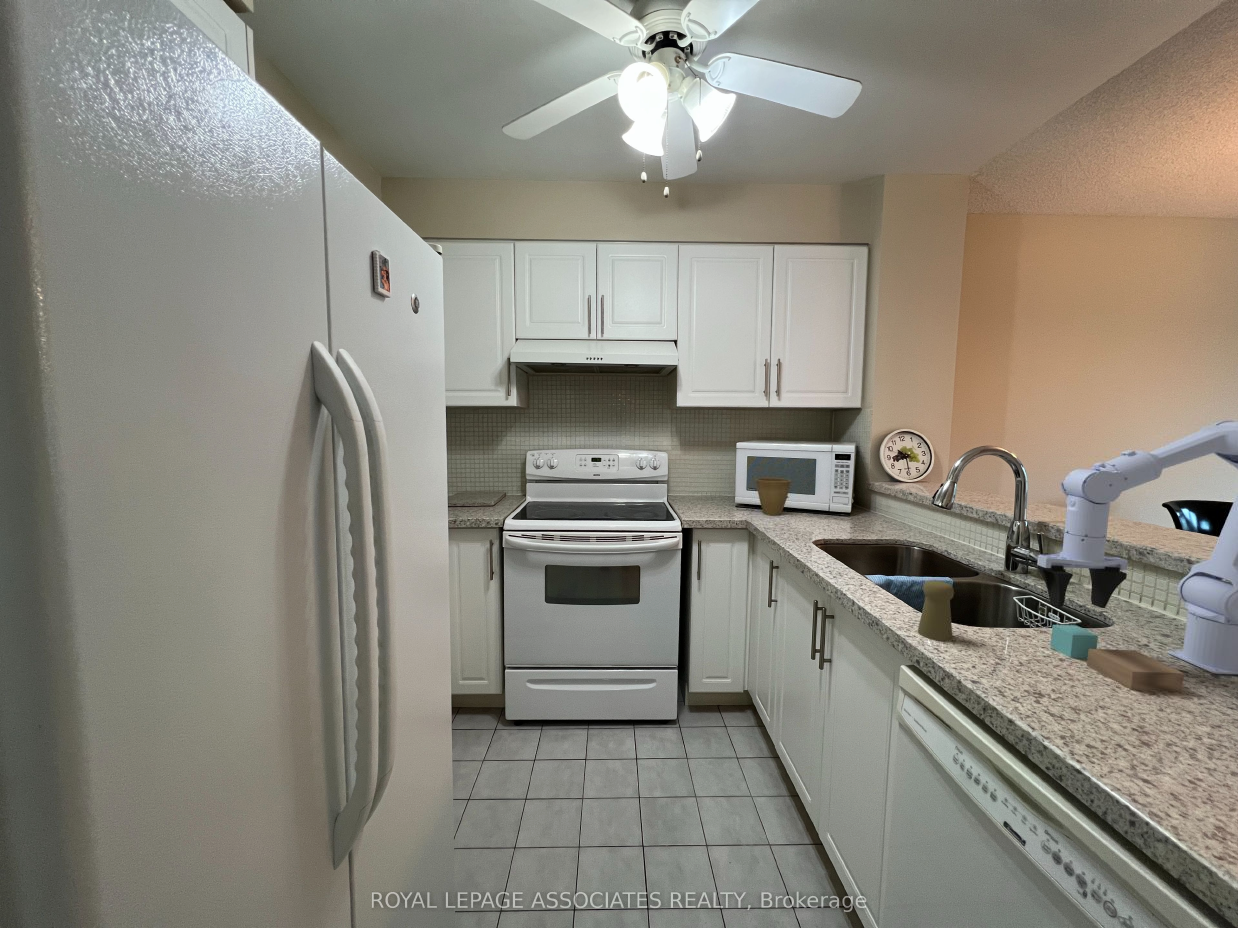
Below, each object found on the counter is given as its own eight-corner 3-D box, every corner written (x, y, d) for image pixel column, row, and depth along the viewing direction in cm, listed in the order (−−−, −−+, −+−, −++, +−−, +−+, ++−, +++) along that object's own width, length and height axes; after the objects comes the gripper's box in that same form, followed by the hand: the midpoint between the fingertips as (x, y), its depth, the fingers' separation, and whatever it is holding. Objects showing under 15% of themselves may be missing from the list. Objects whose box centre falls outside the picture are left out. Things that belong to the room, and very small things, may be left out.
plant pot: (787, 512, 234) (788, 478, 233) (790, 518, 220) (792, 482, 218) (754, 510, 238) (755, 476, 236) (755, 516, 223) (756, 480, 222)
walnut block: (1132, 669, 89) (1135, 650, 89) (1181, 693, 81) (1184, 673, 81) (1086, 667, 89) (1088, 648, 89) (1130, 691, 82) (1132, 671, 81)
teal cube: (1074, 647, 97) (1076, 625, 96) (1095, 659, 92) (1098, 635, 92) (1050, 647, 97) (1052, 624, 96) (1070, 658, 92) (1072, 634, 92)
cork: (920, 625, 106) (924, 575, 104) (954, 634, 102) (958, 581, 101) (915, 635, 101) (919, 582, 100) (950, 644, 97) (955, 589, 96)
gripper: (1105, 530, 96) (1097, 598, 97) (1027, 528, 97) (1021, 596, 98) (1142, 539, 89) (1133, 613, 90) (1058, 537, 90) (1050, 610, 91)
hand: (1077, 605), depth 94 cm, fingers open, 7 cm apart
